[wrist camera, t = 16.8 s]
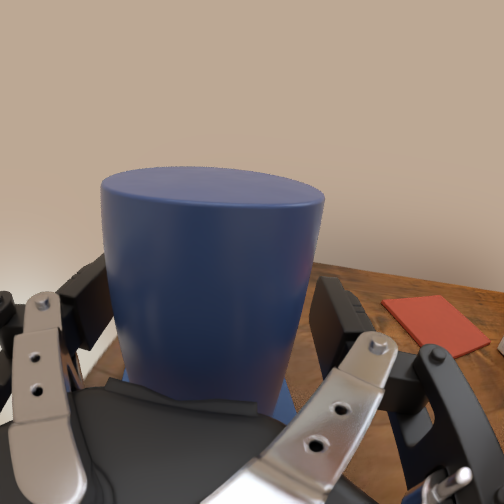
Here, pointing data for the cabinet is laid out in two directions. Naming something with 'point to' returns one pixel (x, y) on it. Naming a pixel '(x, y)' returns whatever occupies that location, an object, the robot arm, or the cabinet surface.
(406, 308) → the terracotta mat
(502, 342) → the small box
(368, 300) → the cabinet surface
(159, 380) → the blue can
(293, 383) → the cabinet surface
